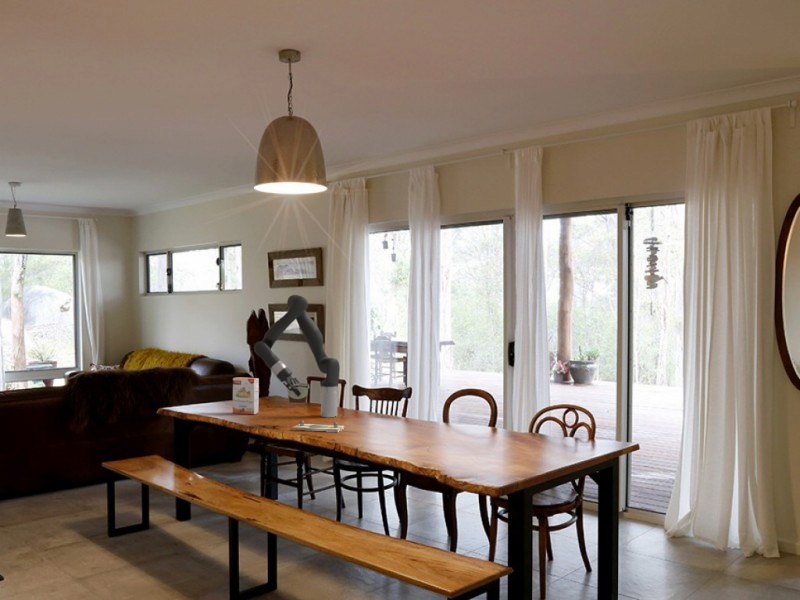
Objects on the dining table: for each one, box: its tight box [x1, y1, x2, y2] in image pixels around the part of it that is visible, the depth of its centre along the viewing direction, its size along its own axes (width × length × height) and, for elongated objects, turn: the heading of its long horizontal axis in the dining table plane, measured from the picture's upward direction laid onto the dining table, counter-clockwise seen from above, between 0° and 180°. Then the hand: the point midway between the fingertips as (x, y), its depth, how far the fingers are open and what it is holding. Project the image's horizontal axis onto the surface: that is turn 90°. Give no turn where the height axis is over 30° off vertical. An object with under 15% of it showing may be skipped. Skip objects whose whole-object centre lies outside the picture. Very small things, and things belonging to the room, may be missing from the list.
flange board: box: [291, 420, 345, 433], centre depth 346 cm, size 12×24×4 cm, turn 78°
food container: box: [285, 382, 310, 405], centre depth 360 cm, size 12×6×10 cm, turn 84°
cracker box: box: [232, 376, 260, 415], centre depth 396 cm, size 14×6×21 cm, turn 73°
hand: (301, 394), depth 360 cm, fingers closed on food container, 6 cm apart
